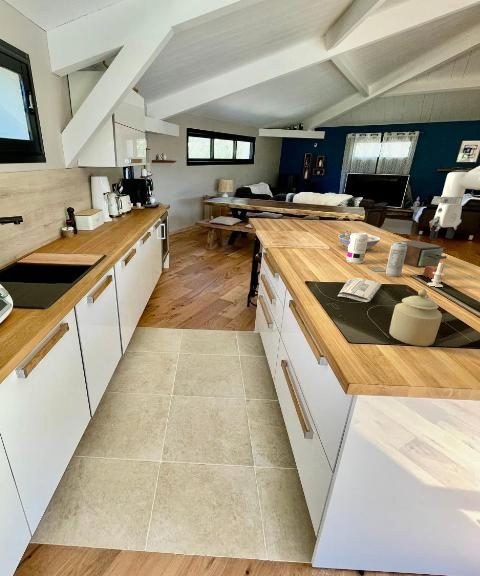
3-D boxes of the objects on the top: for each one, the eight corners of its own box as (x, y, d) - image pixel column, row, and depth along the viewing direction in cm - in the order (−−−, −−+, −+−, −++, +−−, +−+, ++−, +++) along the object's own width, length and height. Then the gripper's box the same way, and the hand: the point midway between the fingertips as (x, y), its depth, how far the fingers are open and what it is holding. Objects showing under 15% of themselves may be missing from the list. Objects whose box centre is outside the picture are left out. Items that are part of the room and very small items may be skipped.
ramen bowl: (377, 256, 173) (379, 241, 170) (332, 251, 184) (334, 237, 182) (379, 247, 193) (381, 233, 190) (339, 243, 204) (341, 230, 201)
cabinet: (436, 265, 156) (441, 246, 153) (415, 267, 153) (420, 248, 150) (410, 257, 169) (414, 240, 166) (391, 259, 166) (395, 241, 163)
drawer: (448, 266, 150) (453, 251, 147) (429, 269, 147) (433, 252, 144) (414, 257, 166) (418, 243, 164) (397, 259, 164) (400, 244, 161)
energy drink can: (402, 275, 142) (409, 242, 137) (398, 278, 138) (406, 244, 133) (387, 272, 146) (394, 240, 141) (383, 275, 142) (390, 242, 137)
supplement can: (343, 262, 163) (347, 233, 158) (349, 259, 168) (354, 231, 163) (359, 265, 158) (364, 235, 152) (365, 262, 163) (371, 233, 157)
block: (430, 275, 142) (433, 265, 140) (440, 278, 138) (443, 268, 136) (422, 275, 141) (425, 266, 139) (432, 279, 137) (435, 269, 135)
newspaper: (349, 280, 137) (350, 275, 136) (380, 288, 130) (382, 283, 129) (333, 295, 120) (335, 289, 119) (367, 306, 113) (369, 299, 112)
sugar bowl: (380, 320, 101) (390, 276, 95) (420, 324, 98) (432, 279, 92) (395, 343, 87) (408, 293, 82) (441, 349, 84) (457, 297, 79)
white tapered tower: (434, 283, 132) (440, 259, 128) (446, 287, 127) (453, 262, 123) (424, 284, 131) (430, 260, 127) (435, 288, 126) (442, 263, 122)
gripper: (444, 202, 135) (433, 241, 141) (474, 201, 139) (463, 239, 145) (427, 201, 142) (418, 238, 148) (457, 199, 146) (447, 236, 152)
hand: (440, 238), depth 146 cm, fingers open, 9 cm apart
